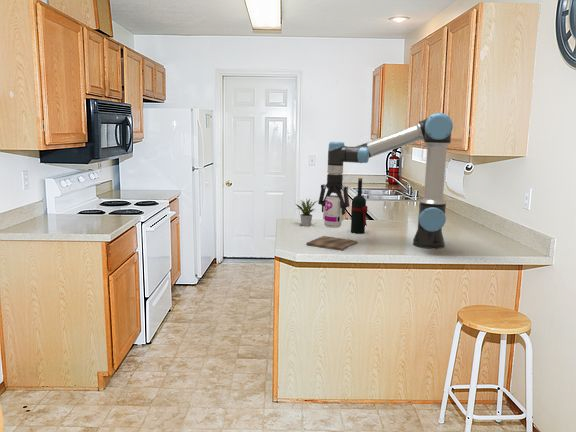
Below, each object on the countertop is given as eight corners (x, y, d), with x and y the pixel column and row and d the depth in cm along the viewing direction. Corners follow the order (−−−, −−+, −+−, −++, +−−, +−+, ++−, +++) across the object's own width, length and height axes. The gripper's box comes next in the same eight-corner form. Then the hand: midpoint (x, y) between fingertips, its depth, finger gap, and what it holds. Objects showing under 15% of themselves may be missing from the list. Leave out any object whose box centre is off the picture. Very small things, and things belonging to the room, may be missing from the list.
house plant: (314, 222, 309) (315, 195, 306) (323, 227, 296) (324, 199, 293) (292, 223, 305) (293, 196, 302) (300, 228, 292) (301, 199, 289)
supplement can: (329, 228, 248) (330, 197, 245) (321, 225, 255) (322, 195, 253) (344, 227, 251) (345, 197, 248) (335, 224, 259) (337, 194, 256)
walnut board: (357, 243, 258) (357, 240, 258) (342, 250, 242) (342, 248, 242) (323, 238, 268) (323, 235, 267) (306, 245, 251) (306, 242, 251)
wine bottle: (360, 235, 276) (363, 179, 271) (347, 231, 284) (350, 177, 279) (370, 233, 281) (373, 179, 275) (358, 230, 289) (360, 177, 284)
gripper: (312, 172, 250) (310, 218, 255) (352, 176, 240) (349, 223, 244) (319, 171, 257) (317, 216, 261) (358, 175, 247) (355, 221, 251)
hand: (332, 219), depth 253 cm, fingers closed on supplement can, 8 cm apart
